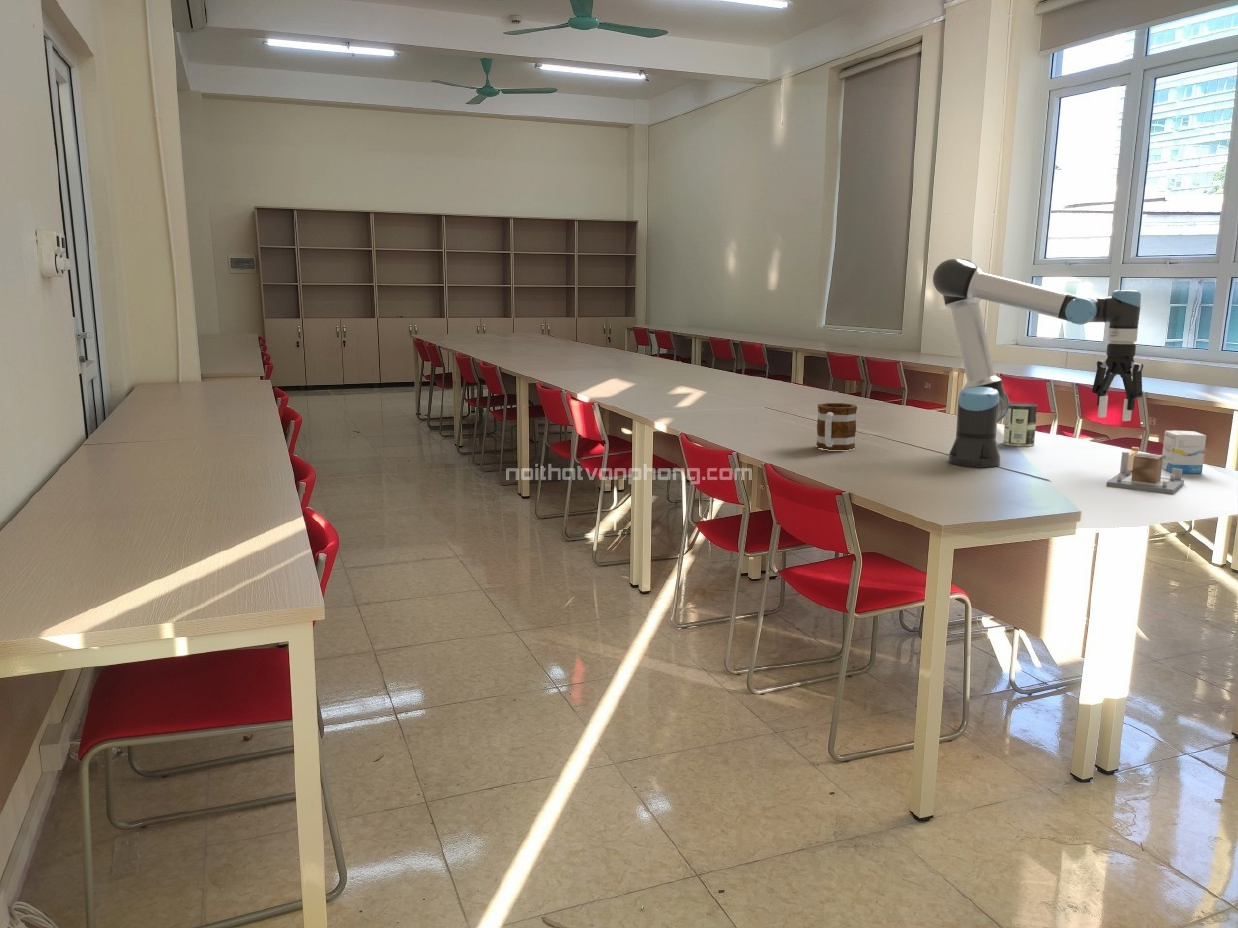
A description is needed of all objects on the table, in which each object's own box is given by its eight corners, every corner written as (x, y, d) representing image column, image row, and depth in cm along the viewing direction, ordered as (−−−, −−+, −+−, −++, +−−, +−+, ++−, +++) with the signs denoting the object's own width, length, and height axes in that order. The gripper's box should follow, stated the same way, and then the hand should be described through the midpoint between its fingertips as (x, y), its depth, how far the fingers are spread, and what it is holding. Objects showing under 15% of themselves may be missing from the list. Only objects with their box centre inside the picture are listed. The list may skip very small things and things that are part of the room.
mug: (820, 444, 317) (822, 402, 314) (859, 446, 311) (861, 404, 308) (806, 453, 300) (808, 409, 297) (847, 456, 294) (849, 411, 291)
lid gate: (1127, 474, 262) (1130, 453, 261) (1120, 473, 263) (1123, 452, 262) (1137, 467, 271) (1139, 447, 270) (1130, 467, 272) (1132, 446, 271)
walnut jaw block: (1131, 480, 249) (1133, 455, 248) (1135, 477, 254) (1138, 452, 252) (1155, 483, 245) (1158, 458, 244) (1160, 480, 250) (1163, 455, 248)
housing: (1104, 485, 249) (1107, 461, 248) (1120, 474, 263) (1122, 451, 261) (1172, 494, 238) (1175, 468, 237) (1185, 482, 252) (1188, 458, 251)
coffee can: (1026, 441, 319) (1029, 402, 317) (1039, 446, 309) (1043, 406, 307) (997, 441, 320) (1000, 402, 317) (1009, 446, 309) (1012, 406, 307)
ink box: (1202, 474, 264) (1207, 435, 261) (1170, 473, 265) (1175, 434, 263) (1190, 468, 272) (1195, 430, 270) (1159, 467, 274) (1164, 429, 271)
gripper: (1083, 341, 273) (1076, 415, 278) (1145, 345, 255) (1136, 424, 259) (1100, 340, 276) (1093, 413, 281) (1162, 344, 258) (1154, 422, 262)
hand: (1113, 418), depth 270 cm, fingers open, 8 cm apart
